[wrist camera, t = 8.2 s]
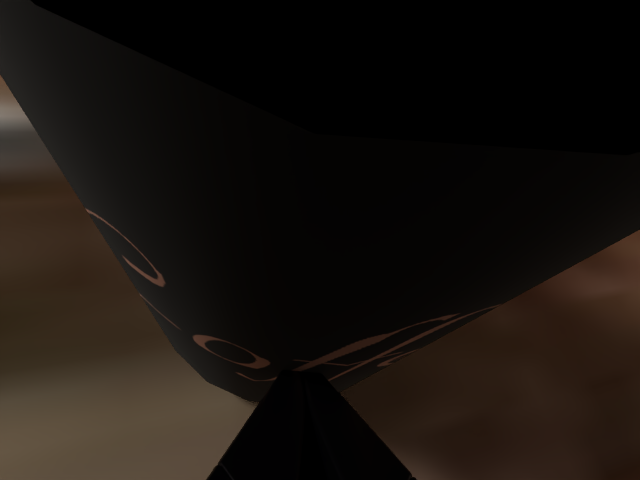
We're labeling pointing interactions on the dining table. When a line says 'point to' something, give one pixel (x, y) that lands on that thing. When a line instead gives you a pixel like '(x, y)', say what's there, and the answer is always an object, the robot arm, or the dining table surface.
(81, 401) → the dining table surface
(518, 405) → the dining table surface
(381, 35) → the coffee jar
